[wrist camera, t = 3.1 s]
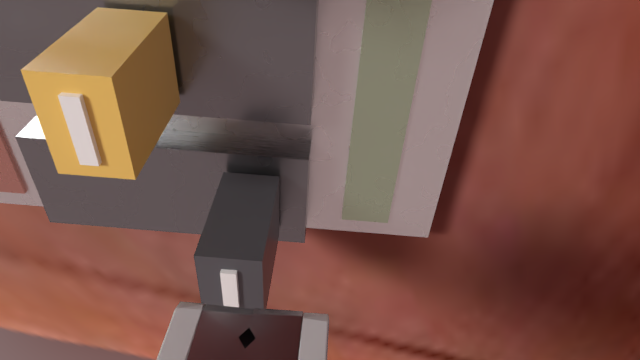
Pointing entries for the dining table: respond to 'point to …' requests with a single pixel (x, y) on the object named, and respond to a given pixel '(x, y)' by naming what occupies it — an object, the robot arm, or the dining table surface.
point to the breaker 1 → (105, 92)
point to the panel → (266, 112)
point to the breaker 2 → (239, 242)
